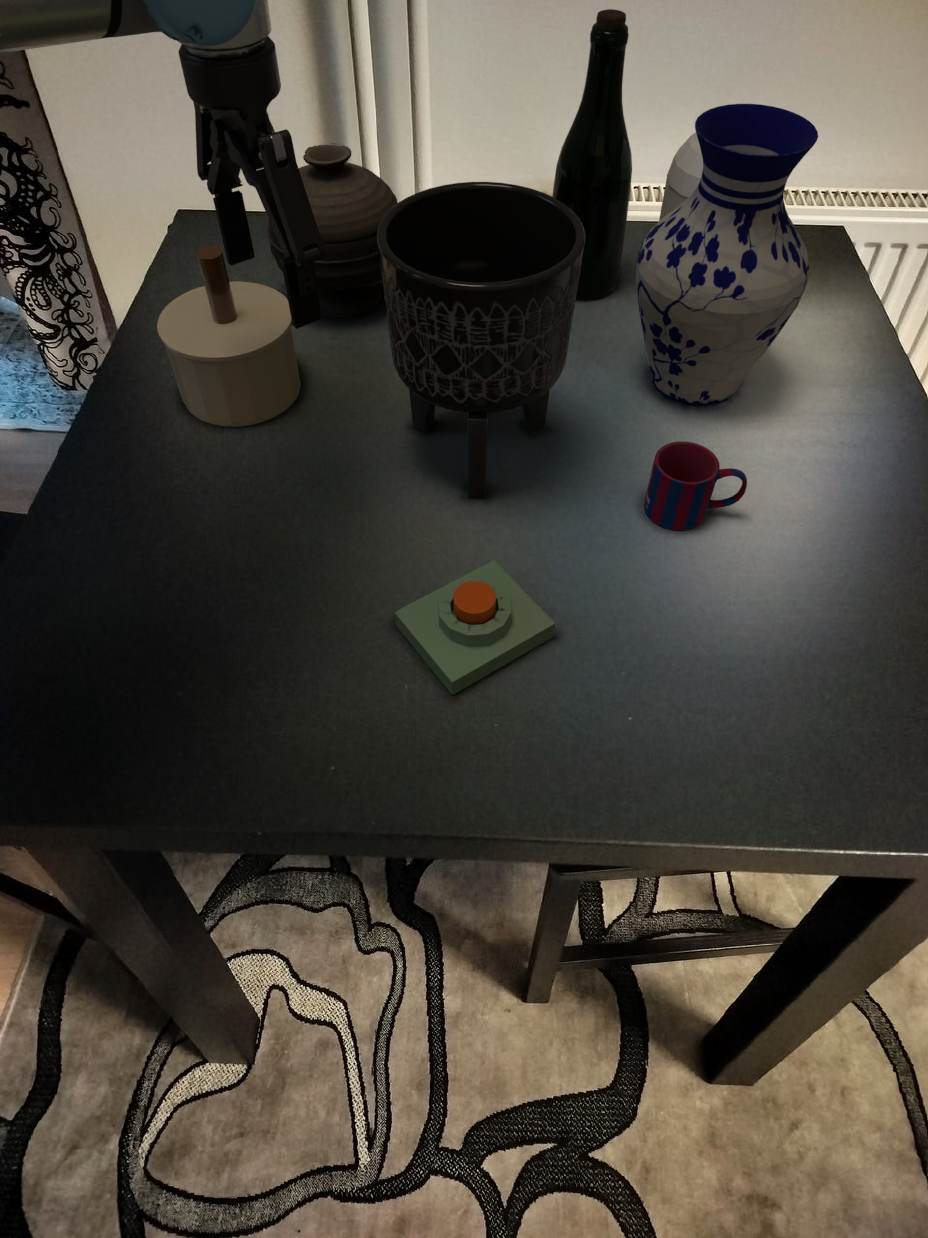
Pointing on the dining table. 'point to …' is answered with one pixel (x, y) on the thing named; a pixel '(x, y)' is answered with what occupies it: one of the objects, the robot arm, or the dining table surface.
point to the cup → (686, 485)
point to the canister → (239, 385)
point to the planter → (480, 302)
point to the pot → (343, 229)
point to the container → (682, 175)
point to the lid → (223, 316)
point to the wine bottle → (599, 158)
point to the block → (474, 629)
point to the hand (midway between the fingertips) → (273, 290)
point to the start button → (474, 602)
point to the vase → (725, 257)
